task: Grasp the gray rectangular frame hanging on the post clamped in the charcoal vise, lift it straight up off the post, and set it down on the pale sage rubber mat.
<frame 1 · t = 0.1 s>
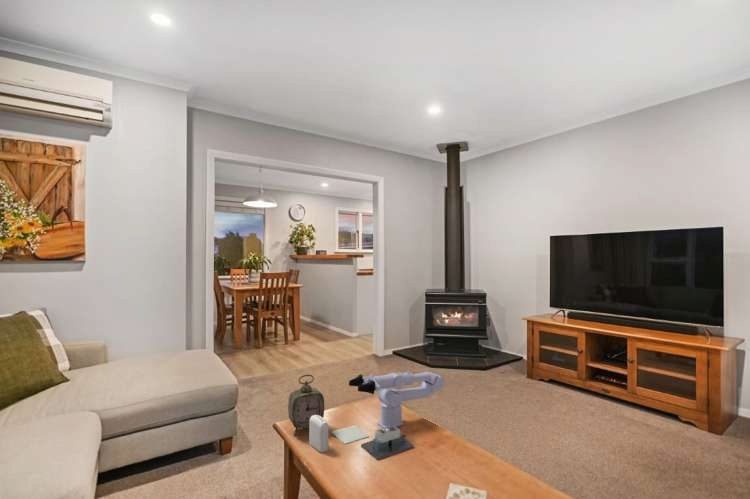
hand: (353, 385, 165), 22 cm above the table, tool horizontal, fingers open, 7 cm apart
sage mat: (350, 434, 165), on the table
gray rectangular frame: (387, 437, 155), point 4 cm above the table, touching vise
tabletop clock: (305, 430, 168), on the table
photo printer: (318, 447, 155), on the table
vise: (387, 447, 155), on the table
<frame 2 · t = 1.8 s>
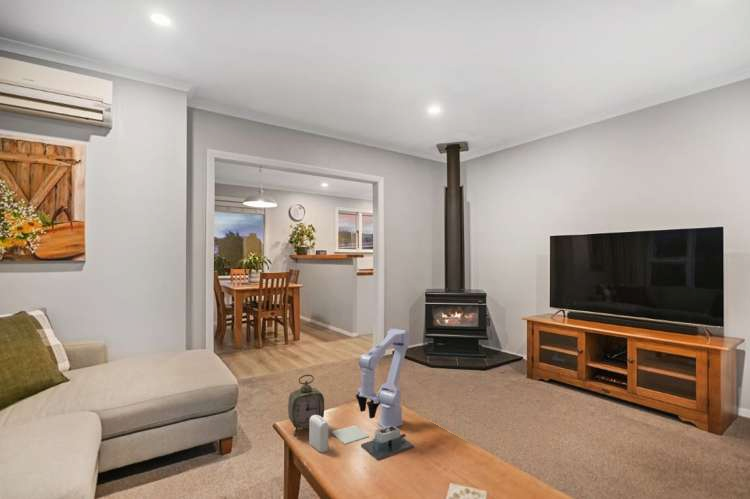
hand: (367, 414, 162), 10 cm above the table, tool pointing down, fingers open, 7 cm apart
nothing on the table moved.
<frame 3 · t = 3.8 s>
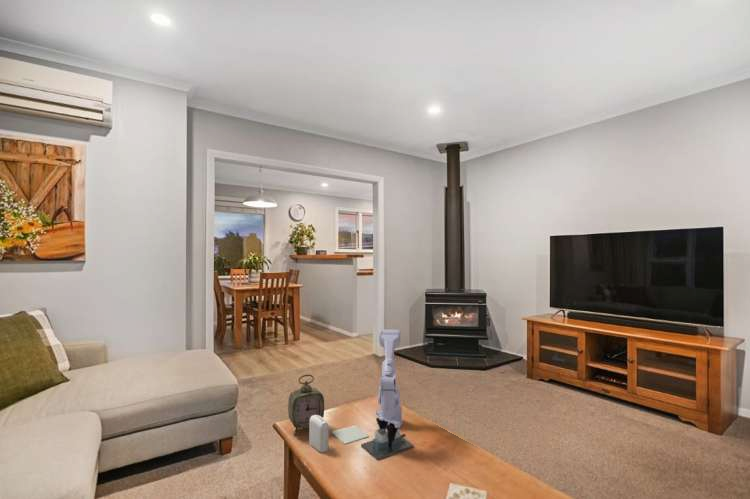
hand: (387, 438, 155), 4 cm above the table, tool pointing down, fingers closed on gray rectangular frame, 5 cm apart
gray rectangular frame: (387, 437, 155), point 4 cm above the table, touching gripper, vise
everything else where it was.
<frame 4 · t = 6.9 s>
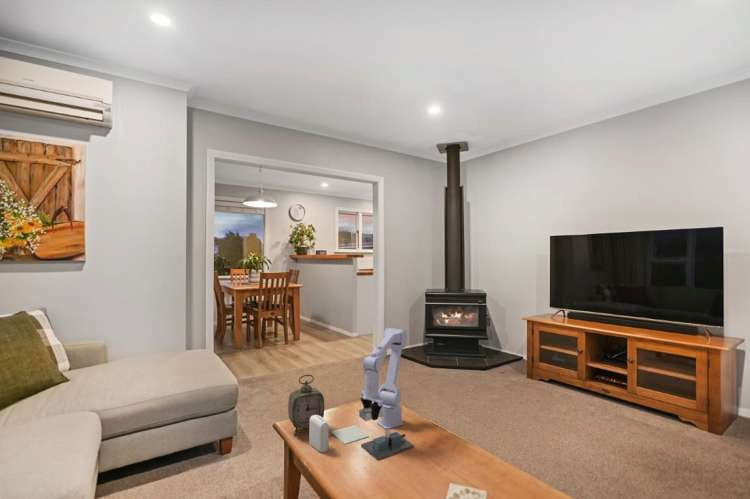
hand: (371, 417, 159), 10 cm above the table, tool pointing down, fingers closed on gray rectangular frame, 5 cm apart
gray rectangular frame: (371, 416, 159), point 11 cm above the table, touching gripper
everything else where it was.
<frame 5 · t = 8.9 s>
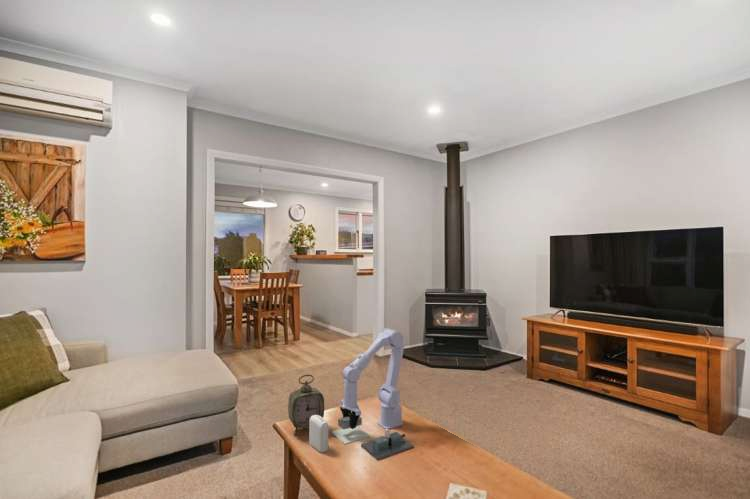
hand: (350, 425, 165), 4 cm above the table, tool pointing down, fingers closed on gray rectangular frame, 5 cm apart
gray rectangular frame: (349, 424, 165), point 4 cm above the table, touching gripper
everything else where it was.
when the fingers open (2 cm above the table, at t = 10.3 s): gray rectangular frame drops 2 cm, resting on sage mat.
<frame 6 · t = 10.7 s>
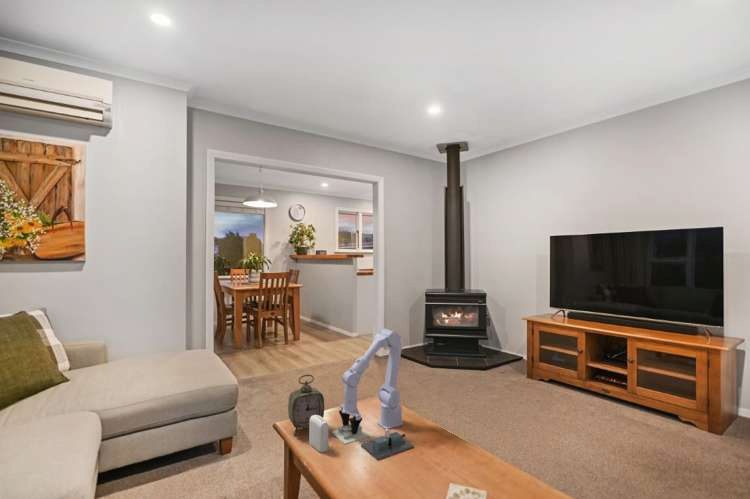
hand: (350, 430, 165), 2 cm above the table, tool pointing down, fingers open, 7 cm apart
gray rectangular frame: (349, 433, 165), resting on sage mat
everything else where it was.
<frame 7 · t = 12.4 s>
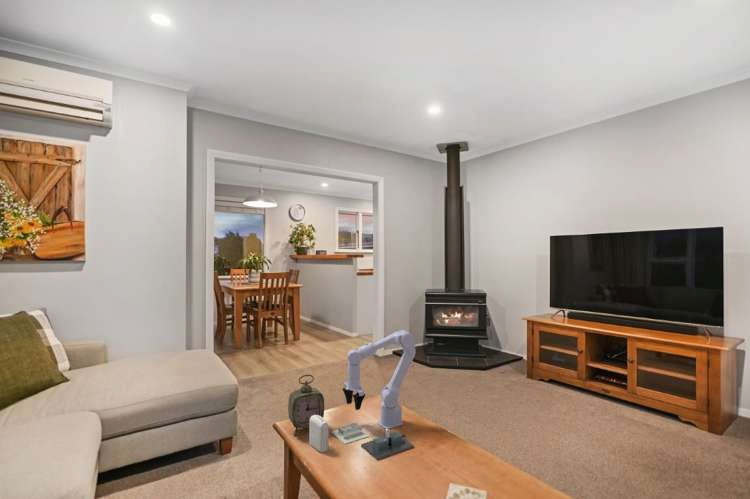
hand: (353, 406, 172), 9 cm above the table, tool pointing down, fingers open, 7 cm apart
nothing on the table moved.
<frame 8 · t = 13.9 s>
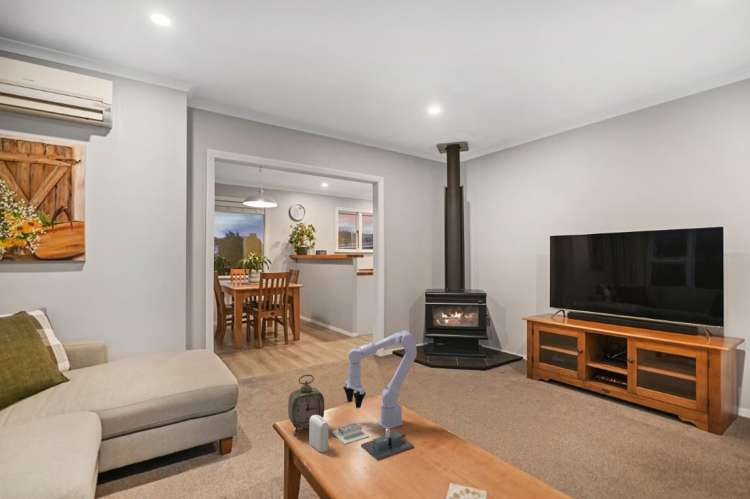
hand: (354, 404, 174), 9 cm above the table, tool pointing down, fingers open, 7 cm apart
nothing on the table moved.
at the end: gray rectangular frame inside the target area on the sage mat (0.1 cm from its centre), point 0.4 cm above the sage mat's base; gray rectangular frame touching sage mat; the gripper is holding nothing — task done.
